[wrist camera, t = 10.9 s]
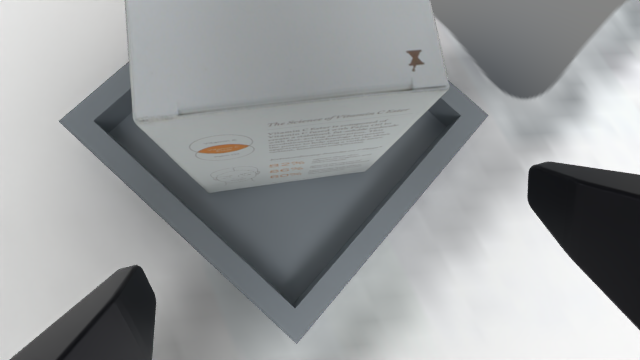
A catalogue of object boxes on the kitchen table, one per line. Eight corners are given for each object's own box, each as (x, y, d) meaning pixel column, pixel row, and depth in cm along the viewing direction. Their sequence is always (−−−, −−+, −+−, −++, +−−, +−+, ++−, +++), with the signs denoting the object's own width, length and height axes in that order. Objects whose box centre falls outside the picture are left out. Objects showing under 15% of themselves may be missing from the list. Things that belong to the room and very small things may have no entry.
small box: (348, 72, 21) (418, -102, 11) (367, 174, 20) (461, 87, 10) (193, 86, 20) (112, -91, 10) (204, 195, 19) (127, 121, 9)
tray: (293, 333, 19) (296, 343, 17) (84, 138, 20) (58, 121, 18) (464, 131, 22) (488, 115, 20) (278, -32, 23) (279, -67, 21)
